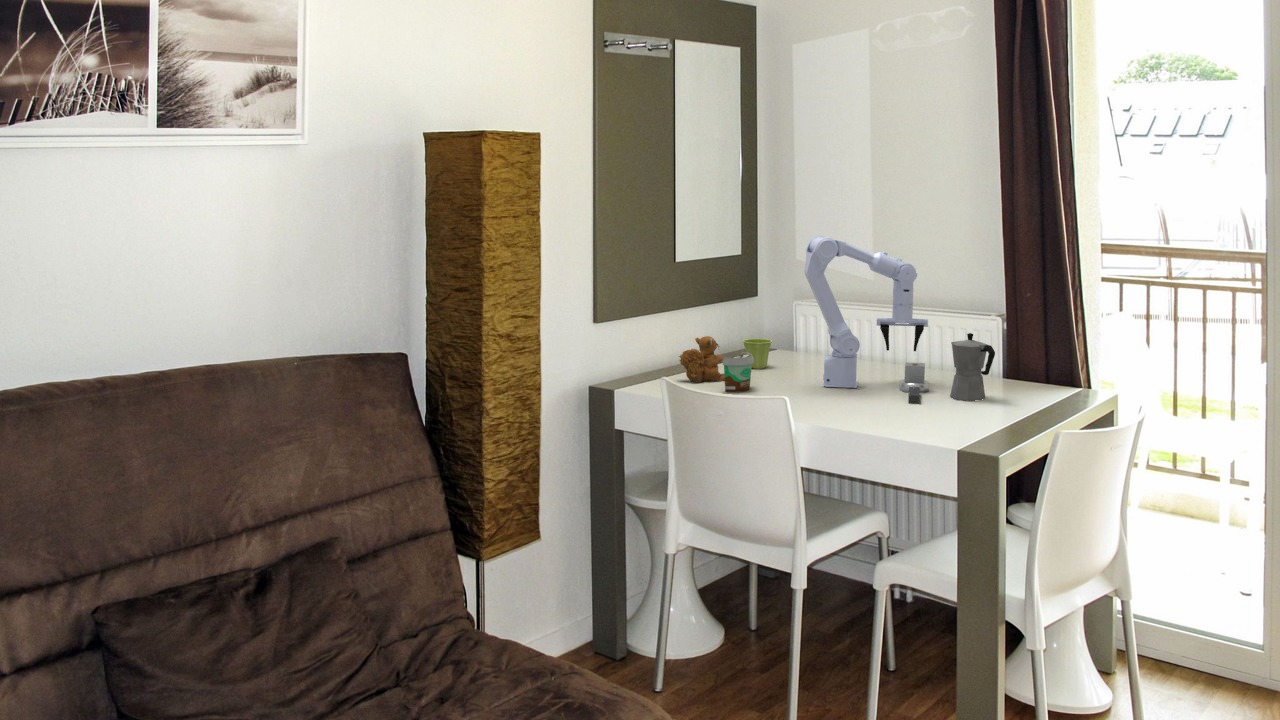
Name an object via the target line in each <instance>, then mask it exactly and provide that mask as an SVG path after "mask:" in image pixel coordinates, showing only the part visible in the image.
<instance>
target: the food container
mask: <svg viewBox="0 0 1280 720" xmlns="http://www.w3.org/2000/svg"><path fill="white" fill-rule="evenodd" d="M752 363H754V359H753V356H752V354H750V353H746V351H741V353H740V355H738V356H732V357H723V360H722V366H723V370H724V372H723V374H724V377H725V380H724V392H727V393H741V392H742V393H743V392H744V393H745V392H748V391H749V390H750V389H751V375H752V368H751V367H752Z"/></svg>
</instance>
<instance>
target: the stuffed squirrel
mask: <svg viewBox="0 0 1280 720" xmlns="http://www.w3.org/2000/svg"><path fill="white" fill-rule="evenodd" d="M694 340H695V342H696V344H697V345H698V348H699V349H697V348H691V349H687V350H683V352H682V354H680V355H678V357H679V362H680V365H681V366H683V367H684V370H686V372H685V374H686V377H687V379H688V380H689V381H690V382H693V383H697V384H698V383H701V382H723V381H724V382H725V377H724V373H720V372H719V364H720V363H723V360H724V356H723V355H721V354H718V355H717V354H715V351H716V349H717V348H718V350H721V346H720V344H718V343H717V340H715V338H713V337H712V336H709V335H706V336H705V335H704V336H702V337H700V338H699V337H695V339H694Z"/></svg>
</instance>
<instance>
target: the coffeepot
mask: <svg viewBox="0 0 1280 720" xmlns="http://www.w3.org/2000/svg"><path fill="white" fill-rule="evenodd" d="M966 336H967V339H964V340H957V341H951V349H952V356H953V365H954V368H955V374H954V377H953V380H952V381H953V382H952V385H951V391H950V394H949V397H950V398H951V399H952V398H953V399H952V400H955V399H956V401H960V400H963V401H962V402H976V401H975V400H981V401H983V400H982V399H986V393H985V386H984V378H983V376H987V375H989V373H990V371H991V367H992V364H993V362H994V359H995V355H996V352H995V350H994V348H993V346H992V345H990V344H986V343H985V342H981V341H978V340H973V338H974V333H972V332H970V333H966ZM987 353H988V356H986V355H987ZM986 357H987V359H986ZM986 360H987V361H986ZM985 362H986V364H985ZM984 365H985V366H984ZM984 367H985V370H982V369H984Z"/></svg>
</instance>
